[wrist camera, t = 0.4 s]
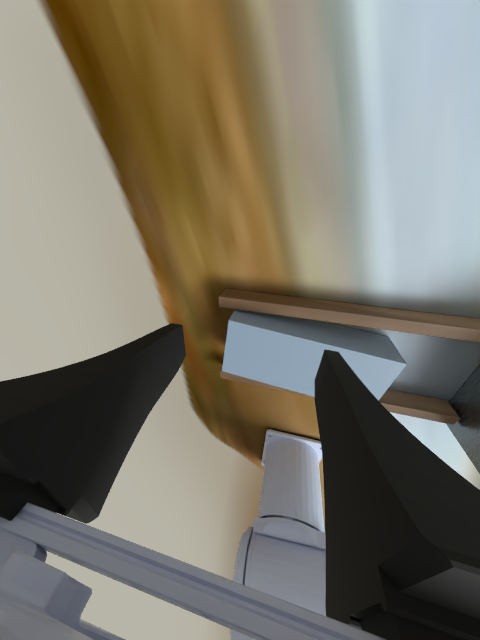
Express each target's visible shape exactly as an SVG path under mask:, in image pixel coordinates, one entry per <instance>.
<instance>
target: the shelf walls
mask: <svg viewBox="0 0 480 640" xmlns="http://www.w3.org/2000/svg"><path fill="white" fill-rule="evenodd" d="M219 307H224V308H231V309H238V310H246V311H253V312H260V313H268V314H275V315H282V316H290V317H297V318H304V319H312V320H319V321H326V322H334V323H341V324H348V325H356V326H363V327H370V328H378V329H385V330H392V331H400V332H407V333H415V334H422V335H429V336H437V337H444V338H451V339H459V340H466V341H473V342H480V319H477V318H469V317H461V316H452V315H444V314H435V313H427V312H419V311H410V310H402V309H393V308H385V307H377V306H368V305H360V304H351V303H343V302H335V301H326V300H318V299H309V298H301V297H293V296H284V295H276V294H267V293H259V292H251V291H242V290H234V289H224V291H223V292H222V293H221V294H220V296H219ZM220 374H221V378H223V379H228V380H233V381H238V382H243V383H248V384H253V385H258V386H263V387H268V388H273V389H278V390H283V391H288V392H293V393H298V394H302V393H299V392H295V391H291V390H288V389H284V388H281V387H277V386H273V385H270V384H266V383H263V382H259V381H256V380H252V379H248V378H245V377H241V376H238V375H234V374H230V373H227V372H223V371H222V369H221V371H220ZM303 395H306V394H303ZM308 396H309V395H308ZM379 402H380V403H381V404H382V405H383V406H384V407H385V408H386V409H387V410H388V411H389V412H393V413H398V414H403V415H408V416H413V417H418V418H423V419H428V420H433V421H438V422H443V423H448V424H453V425H454V424H455V423H456V422H457V421H458V420H459V419H460V417H459V416H458V415H457V413H456V412H455V411H454V409H453V408H452V407H451V405H450V404H449V403H448V401H447V400H443V399H438V398H432V397H427V396H421V395H416V394H410V393H405V392H399V391H394V390H388V389H387V390H386V392H385V393H384V394H383V396H382V397H381V398H380V399H379Z"/></svg>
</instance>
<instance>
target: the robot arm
mask: <svg viewBox="0 0 480 640" xmlns="http://www.w3.org/2000/svg"><path fill="white" fill-rule="evenodd" d="M185 356H186V352H185V344H184V335H183V326H182V325H179V324H173V323H172V324H169V325H167V326H164V327H162V328H160V329H158V330H156V331H154V332H152V333H150V334H147V335H145V336H143V337H142V338H139V339H137V340H135V341H133V342H130V343H128V344H126V345H124V346H121V347H119V348H117V349H114V350H112V351H109V352H107V353H104V354H102V355H99V356H96V357H93V358H90V359H88V360H85V361H81V362H79V363H75V364H71V365H68V366H65V367H62V368H58V369H54V370H50V371H46V372H42V373H38V374H34V375H30V376H25V377H21V378H16V379H11V380H6V381H1V382H0V640H125V639H122V638H120V637H118V636H116V635H114V634H112V633H110V632H107V631H105V630H103V629H101V628H99V627H97V626H94V625H92V624H90V623H88V622H86V621H83V620H81V619H80V616H81V613H82V611H83V609H84V607H85V606H86V603H87V602H88V600H89V598H90V596H91V594H92V589H91V588H89V587H87V586H85V585H84V584H82V583H80V582H78V581H76V580H75V579H73V578H71V577H70V576H69V575H67V574H66V573H65V572H63V571H61V570H59V569H56V568H54V567H52V566H50V565H48V564H46V563H45V560H46V557H47V553H46V551H48V552H51V553H53V554H55V555H58V556H60V557H63V558H65V559H68V560H70V561H72V562H74V563H77V564H79V565H81V566H84V567H86V568H88V569H91V570H93V571H95V572H98V573H100V574H103V575H105V576H107V577H110V578H112V579H114V580H117V581H119V582H121V583H124V584H126V585H129V586H131V587H133V588H136V589H138V590H140V591H143V592H145V593H147V594H150V595H152V596H154V597H157V598H159V599H162V600H164V601H166V602H169V603H171V604H174V605H176V606H178V607H181V608H183V609H185V610H187V611H190V612H192V613H195V614H197V615H199V616H202V617H204V618H206V619H209V620H211V621H213V622H216V623H218V624H221V625H223V626H225V627H228V628H230V634H231V640H480V490H479V489H477V488H476V487H475V486H474V485H472V484H471V483H470V482H468V481H467V480H466V479H465V478H463V477H462V476H461V475H459V474H458V473H457V472H456V471H455V470H453V469H452V468H451V467H450V466H448V465H447V464H446V463H445V462H443V461H442V460H441V459H440V458H439V457H438V456H436V455H435V454H434V453H433V452H432V451H431V450H429V449H428V448H427V447H426V446H425V445H424V444H422V443H421V442H420V441H419V440H418V439H417V438H416V437H415V436H414V435H412V434H411V433H410V432H409V431H408V430H407V429H406V428H405V427H404V426H403V425H402V424H401V423H400V422H399V421H398V420H397V419H396V418H395V417H394V416H393V415H392V414H391V413H390V412H389V411H388V410H387V409H386V408H385V407H384V406H383V405H382V404H381V403H380V402H379V401H378V400H377V398H376V397H375V396H374V395H373V394H372V393H371V392H370V391H369V389H368V388H367V387H366V386H365V385H364V384H363V382H362V381H361V380H360V379H359V378H358V376H357V375H356V374H355V373H354V371H353V370H352V369H351V367H350V366H349V365H348V364H347V362H346V361H345V360H344V358H343V357H342V356H341V354H340V353H339V352H337V351H331V350H325V349H324V352H323V356H322V359H321V362H320V365H319V368H318V371H317V374H316V377H315V380H314V382H315V406H316V413H317V420H318V427H319V434H320V440H321V441H317V440H313V439H309V438H305V437H300V436H296V435H292V434H288V433H283V432H279V431H275V430H271V429H268V430H267V431H266V437H265V443H264V449H263V456H262V462H261V465H262V466H264V475H263V484H262V492H261V501H260V509H259V518H257V517H255V519H254V526H253V527H251V526H250V527H248V529H247V530H246V531H245V532H244V533H243V535H242V537H241V540H240V543H239V547H238V552H237V557H236V564H235V571H234V581H232V580H229V579H227V578H224V577H222V576H219V575H216V574H213V573H211V572H208V571H206V570H203V569H201V568H198V567H195V566H193V565H190V564H187V563H185V562H182V561H180V560H177V559H174V558H172V557H169V556H167V555H164V554H161V553H158V552H156V551H153V550H151V549H148V548H146V547H143V546H140V545H138V544H135V543H133V542H130V541H127V540H124V539H122V538H119V537H117V536H114V535H112V534H109V533H106V532H104V531H101V530H99V529H96V528H93V527H91V526H88V525H85V524H83V523H89V522H91V521H93V520H94V519H95V518H97V517H98V516H99V514H100V511H101V509H102V506H103V504H104V502H105V500H106V498H107V496H108V493H109V491H110V489H111V487H112V485H113V482H114V480H115V478H116V476H117V474H118V472H119V470H120V468H121V466H122V463H123V461H124V459H125V457H126V455H127V453H128V451H129V450H130V448H131V446H132V444H133V442H134V439H135V438H136V436H137V434H138V432H139V431H140V429H141V427H142V425H143V423H144V422H145V420H146V418H147V416H148V414H149V413H150V411H151V410H152V408H153V406H154V405H155V404H156V402H157V401H158V399H159V398H160V396H161V395H162V393H163V392H164V391H165V389H166V388H167V386H168V385H169V384H170V382H171V380H172V379H173V378H174V376H175V375H176V373H177V372H178V370H179V368H180V366H181V364H182V362H183V360H184V358H185ZM322 457H323V473H324V498H325V531H324V519H323V508H322V496H321V484H320V473H319V463H320V461H321V459H322ZM57 513H59V514H62V515H64V516H67V517H70V518H73V519H75V520H78V521H81V522H83V523H80V522H77V521H75V520H72V519H70V518H67V517H64V516H62V515H59V514H57ZM45 550H46V551H45Z"/></svg>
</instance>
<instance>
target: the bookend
mask: <svg viewBox="0 0 480 640" xmlns="http://www.w3.org/2000/svg"><path fill="white" fill-rule="evenodd" d="M449 404H450V405H451V407H452V408H453V409H454V411H455V412H456V413H457V415H458V416H459V417H460V419H459V420H458V421H457V422H456V423H455V424H454V425H453V424H448V423H446V424H447V426H448V427H449V429H450V430H451V432H452V433H453V435H454V436H455V438H456V439H457V441H458V442H459V444H460V445H461V447H462V448H463V450H464V451H465V452H466V454H467V455H468V457H469V458H470V460H471V461H472V463H473V464H474V466H475V467H476V469H477V470H478V472H479V473H480V365H479V366H478V368H477V369H476V370H475V371H474V372H473V374H472V375H471V376H470V377H469V379H468V380H467V381H466V382H465V383H464V385H463V386H462V387H461V388H460V389H459V391H458V392H457V393H456V394H455V395H454V397H453V398H452V399H451V400H450V401H449Z"/></svg>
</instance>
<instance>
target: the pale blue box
mask: <svg viewBox="0 0 480 640" xmlns="http://www.w3.org/2000/svg"><path fill="white" fill-rule="evenodd" d="M324 349H325V350H331V351H337V352H339V353H340V354H341V356H342V357H343V358H344V360H345V361H346V362H347V364H348V365H349V366H350V367H351V369H352V370H353V371H354V373H355V374H356V375H357V376H358V378H359V379H360V380H361V381H362V382H363V384H364V385H365V386H366V387H367V388H368V389H369V391H370V392H371V393H372V394H373V395H374V396H375V397H376V398H377V400H378V401H379V399H380V398H381V397H382V396H383V394H384V393H385V392H386V390H387V389H388V388H389V387H390V385H391V384H392V383H393V381H394V380H395V379H396V378H397V376H398V375H399V374H400V372H401V371H402V370H403V369H404V367H405V366H406V365H407V364H406V362H405V361H404V359H403V358H402V356H401V355H400V353H399V352H398V350H397V349H396V347H395V346H394V344H393V343H392V341H391V340H390V338H389V337H387V336H383V335H378V334H374V333H370V332H366V331H361V330H357V329H353V328H349V327H344V326H340V325H336V324H332V323H327V322H323V321H319V320H312V319H304V318H297V317H290V316H282V315H275V314H268V313H260V312H253V311H246V310H238V309H235V310H234V312H233V313H232V315H231V317H230V319H229V322H228V330H227V337H226V345H225V352H224V360H223V367H222V371H223V372H227V373H230V374H234V375H238V376H241V377H245V378H248V379H252V380H256V381H259V382H263V383H266V384H270V385H273V386H277V387H281V388H284V389H288V390H291V391H295V392H299V393H302V394H306V395H309V396H313V397H315V382H314V380H315V377H316V374H317V371H318V368H319V365H320V362H321V359H322V356H323V352H324Z"/></svg>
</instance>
